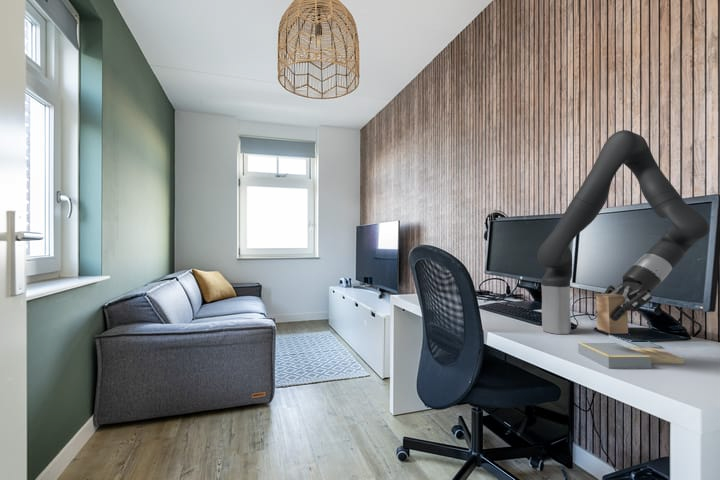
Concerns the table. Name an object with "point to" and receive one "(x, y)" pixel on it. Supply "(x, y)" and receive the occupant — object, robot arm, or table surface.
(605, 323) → the wooden block
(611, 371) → the table surface
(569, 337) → the table surface
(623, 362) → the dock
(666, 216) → the robot arm
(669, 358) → the pallet
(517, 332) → the table surface
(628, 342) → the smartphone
